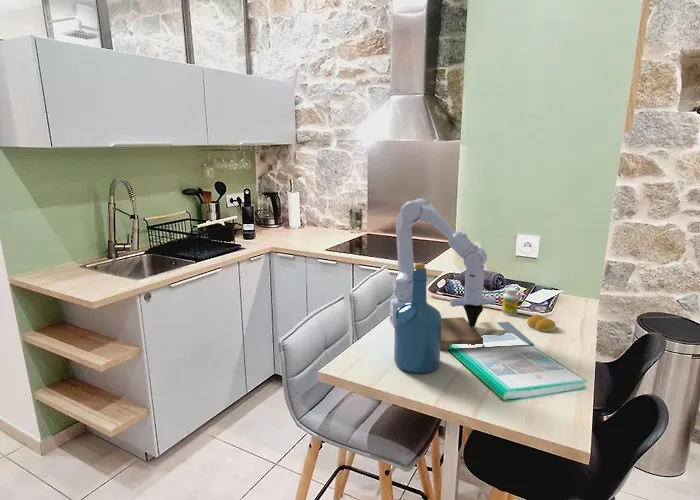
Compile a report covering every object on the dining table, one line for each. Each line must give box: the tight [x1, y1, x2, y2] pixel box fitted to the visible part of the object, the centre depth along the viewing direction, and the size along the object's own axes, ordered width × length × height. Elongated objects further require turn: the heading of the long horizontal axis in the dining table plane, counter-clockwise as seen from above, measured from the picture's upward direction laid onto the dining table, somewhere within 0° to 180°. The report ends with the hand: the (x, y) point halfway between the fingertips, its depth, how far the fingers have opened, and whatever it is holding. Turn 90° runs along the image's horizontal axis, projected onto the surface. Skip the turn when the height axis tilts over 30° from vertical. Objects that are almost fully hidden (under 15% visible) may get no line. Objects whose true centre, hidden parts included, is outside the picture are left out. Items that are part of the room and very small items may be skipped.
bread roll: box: [526, 314, 557, 333], centre depth 154 cm, size 8×9×4 cm
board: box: [440, 316, 483, 351], centre depth 147 cm, size 14×18×3 cm
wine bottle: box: [393, 262, 443, 374], centre depth 126 cm, size 14×13×30 cm
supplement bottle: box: [501, 287, 519, 317], centre depth 166 cm, size 5×5×10 cm
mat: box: [496, 321, 535, 346], centre depth 149 cm, size 16×18×1 cm
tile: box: [473, 321, 505, 336], centre depth 148 cm, size 9×7×2 cm
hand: (471, 325), depth 147 cm, fingers closed
